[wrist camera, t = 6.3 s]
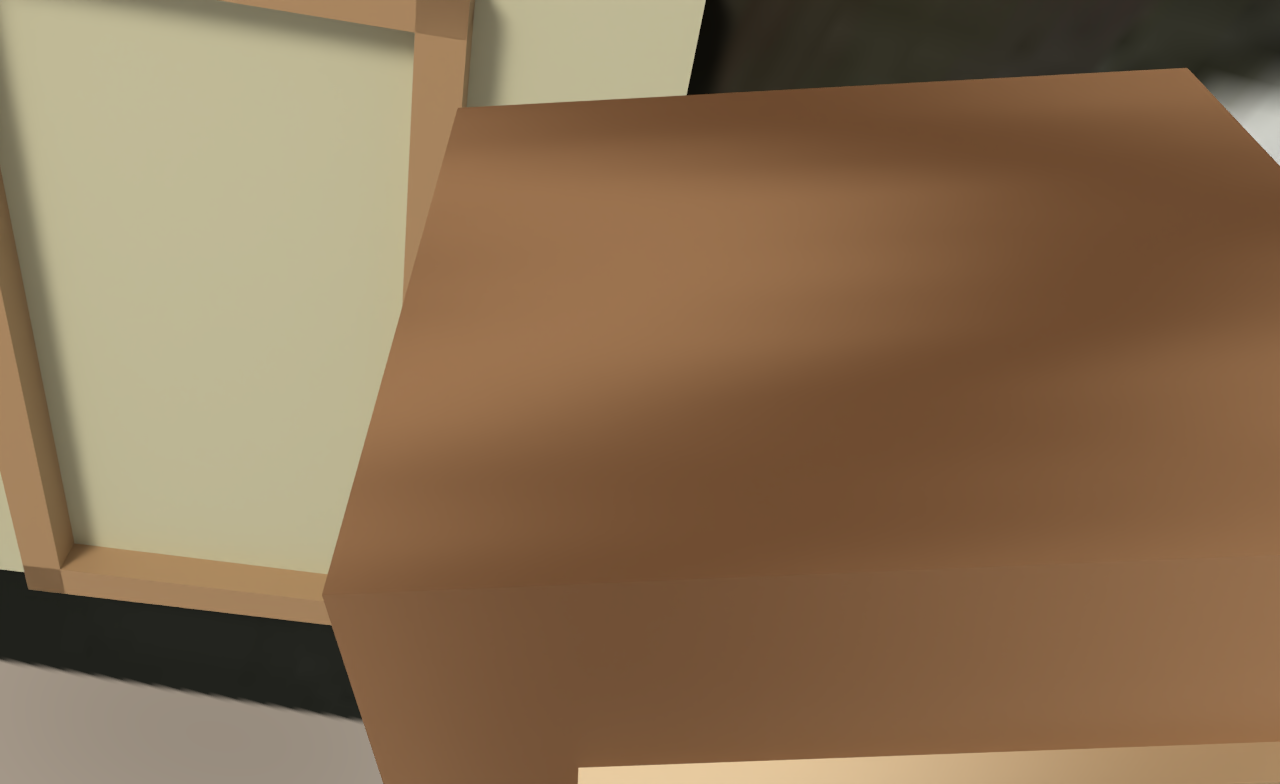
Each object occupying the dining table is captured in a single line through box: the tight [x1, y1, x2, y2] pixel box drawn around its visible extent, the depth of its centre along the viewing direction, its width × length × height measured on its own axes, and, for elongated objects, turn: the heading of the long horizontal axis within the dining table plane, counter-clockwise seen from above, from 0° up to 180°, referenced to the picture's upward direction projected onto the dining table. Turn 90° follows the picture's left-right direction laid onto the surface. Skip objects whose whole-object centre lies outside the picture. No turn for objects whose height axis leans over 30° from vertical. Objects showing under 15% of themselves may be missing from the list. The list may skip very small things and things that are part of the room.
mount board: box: [0, 0, 706, 625], centre depth 28 cm, size 20×20×2 cm
